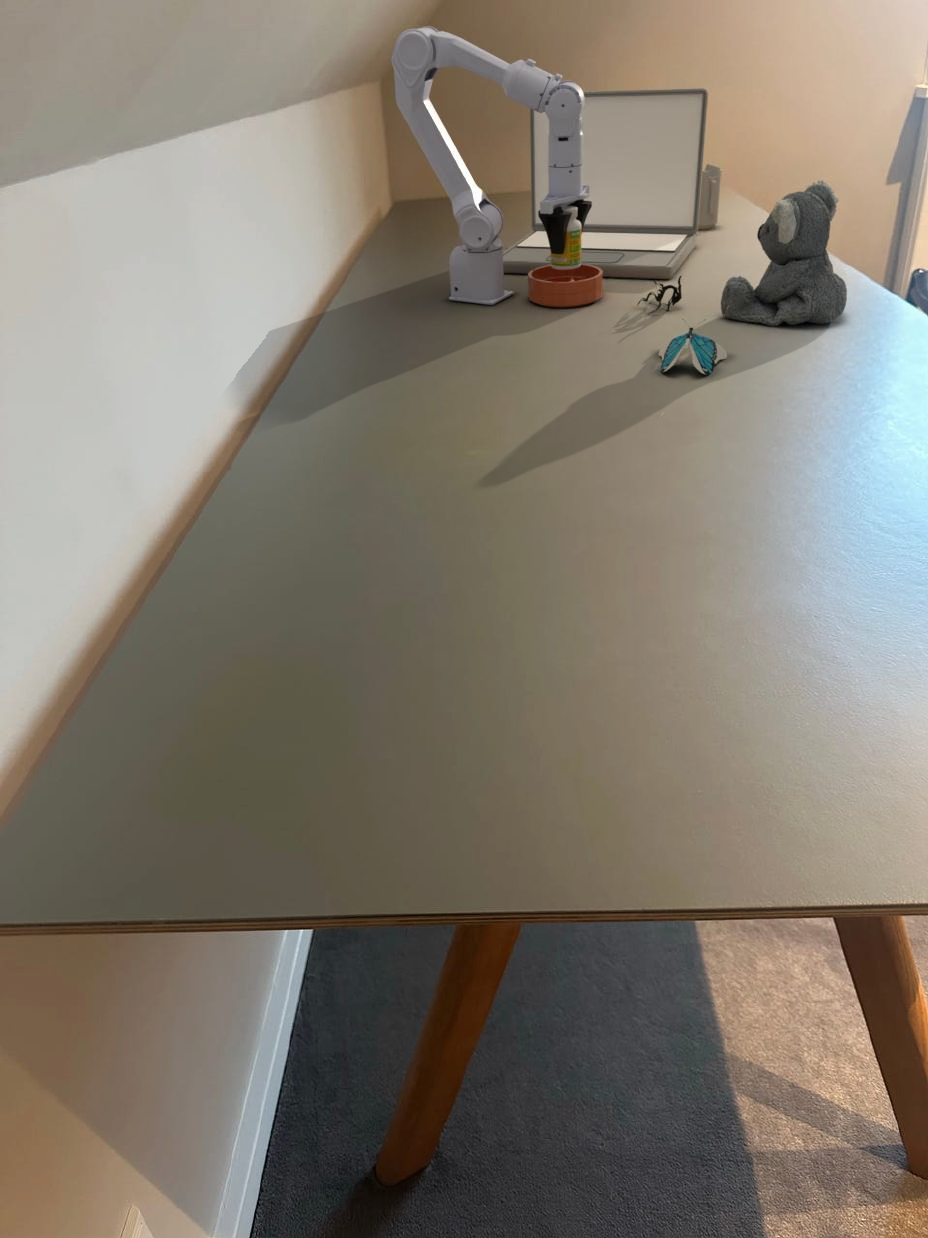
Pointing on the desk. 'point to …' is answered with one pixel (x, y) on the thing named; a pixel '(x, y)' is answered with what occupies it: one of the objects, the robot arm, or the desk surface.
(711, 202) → the cable organizer
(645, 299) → the creature
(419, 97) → the robot arm
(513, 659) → the desk surface
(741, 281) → the koala plush
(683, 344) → the decorative butterfly
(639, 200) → the laptop
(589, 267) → the bowl
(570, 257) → the supplement bottle
